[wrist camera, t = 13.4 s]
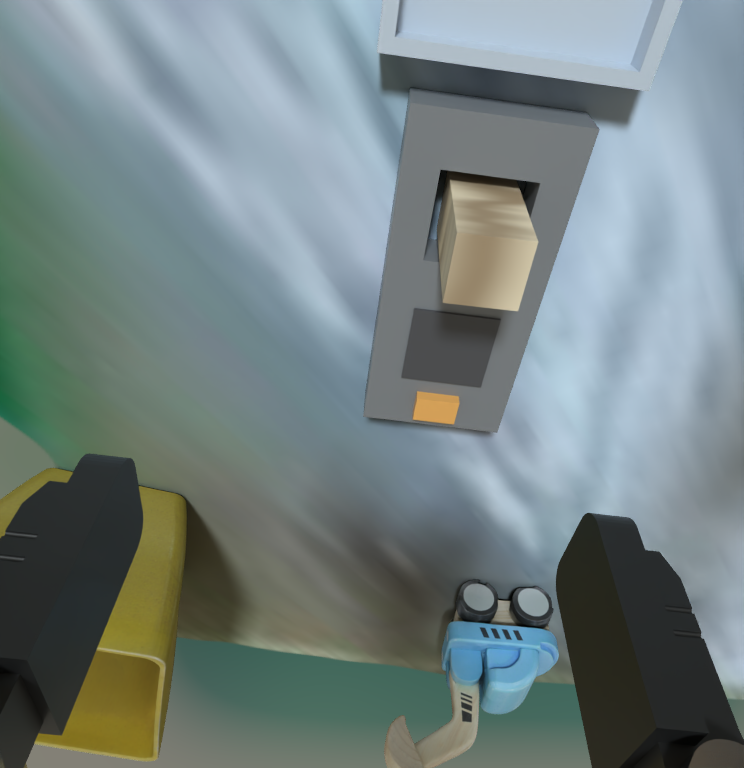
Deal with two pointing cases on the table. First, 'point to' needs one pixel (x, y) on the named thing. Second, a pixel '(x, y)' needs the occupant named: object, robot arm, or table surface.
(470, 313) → the power strip
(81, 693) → the flower pot
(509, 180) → the plug peg
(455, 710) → the toy excavator
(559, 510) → the table surface
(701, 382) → the table surface
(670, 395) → the table surface
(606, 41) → the tray
